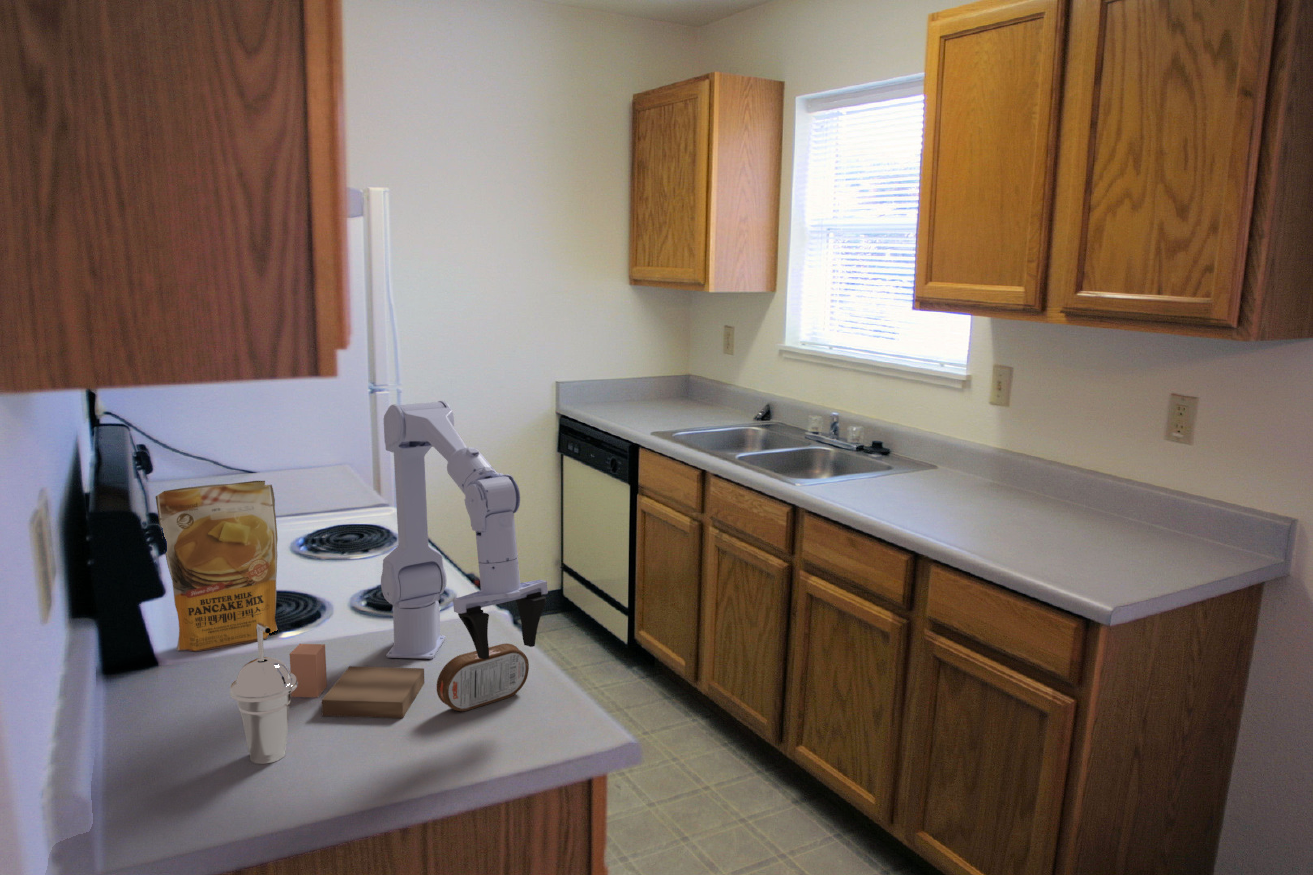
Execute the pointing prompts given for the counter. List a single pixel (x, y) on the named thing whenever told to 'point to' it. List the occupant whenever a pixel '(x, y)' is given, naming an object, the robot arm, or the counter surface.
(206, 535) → the pancake mix bag
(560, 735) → the counter surface
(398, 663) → the counter surface
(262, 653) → the cup with straw
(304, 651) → the terracotta block
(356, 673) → the walnut base
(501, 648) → the tin
